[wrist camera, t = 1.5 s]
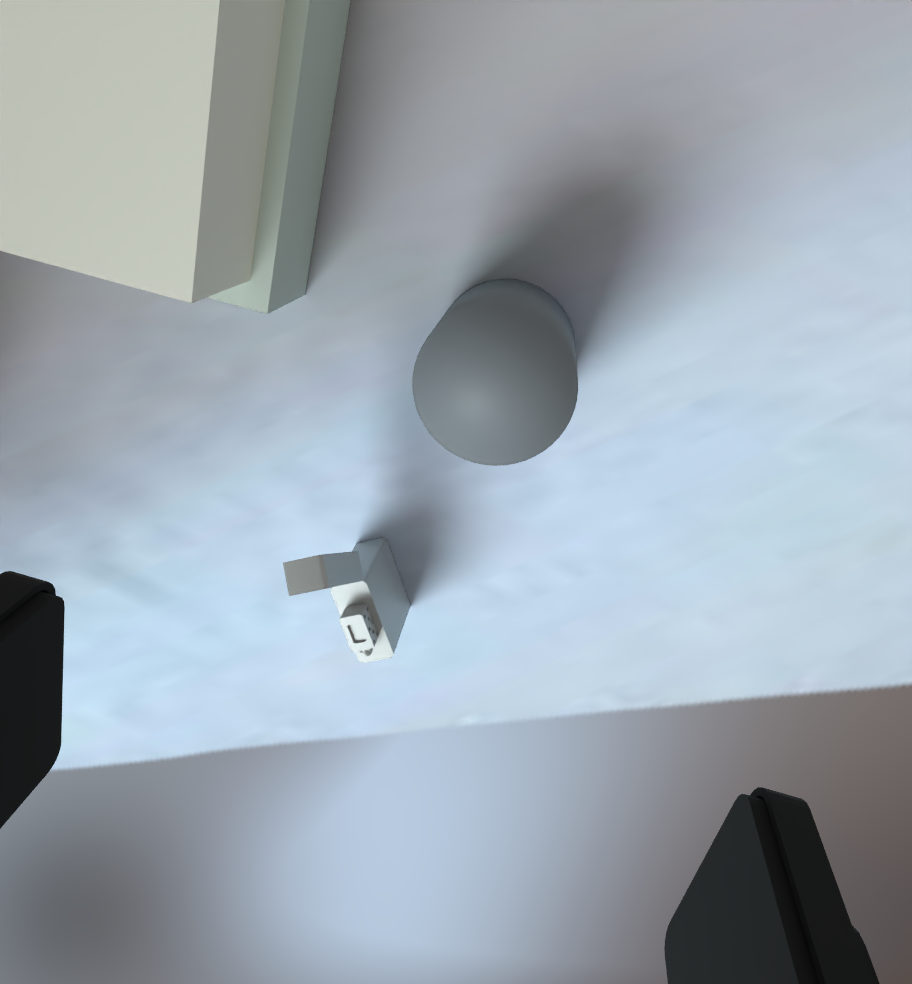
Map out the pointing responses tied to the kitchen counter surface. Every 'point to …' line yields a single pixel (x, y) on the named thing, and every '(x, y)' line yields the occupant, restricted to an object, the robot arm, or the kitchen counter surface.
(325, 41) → the tower bottom block
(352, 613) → the lighter
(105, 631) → the kitchen counter surface
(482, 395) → the cylinder
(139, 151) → the tower top block
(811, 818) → the robot arm
